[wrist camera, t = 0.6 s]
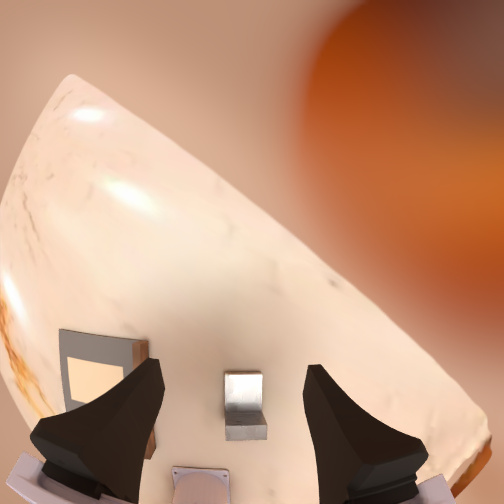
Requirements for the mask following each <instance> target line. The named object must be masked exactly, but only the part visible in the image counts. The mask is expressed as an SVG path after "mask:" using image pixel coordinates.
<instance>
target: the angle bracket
mask: <svg viewBox="0 0 504 504" xmlns="http://www.w3.org/2000/svg"><path fill="white" fill-rule="evenodd" d="M225 429H226V441H242V440H267V423H266V421H265V418H264V415H263V413H262V373H261V372H225Z"/></svg>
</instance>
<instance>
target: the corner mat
mask: <svg viewBox="0 0 504 504" xmlns="http://www.w3.org/2000/svg"><path fill="white" fill-rule="evenodd" d="M138 341H141V340H131V339H122V338H114V337H106V336H99V335H92V334H86V333H80V332H74V331H68V330H62V329H59V350H60V365H61V376H62V385H63V393H64V400H65V407H66V412H68V411H71V410H74V409H76V408H78V407H80V406H82V405H85V404H87V403H89V402H91V401H93V400H94V399H96V398H98V397H99V396H101V395H103V394H104V393H106V392H107V391H108V390H110V389H111V388H112V387H114V386H115V385H116V384H118V383H119V382H120V381H121V380H123V379H124V378H125V377H126V376H127V375H129V374H130V373H131V372H132V371H133V356H132V343H135V342H138ZM155 448H156V447H155Z"/></svg>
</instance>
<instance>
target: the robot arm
mask: <svg viewBox="0 0 504 504" xmlns="http://www.w3.org/2000/svg"><path fill="white" fill-rule="evenodd" d="M164 391H165V386H164V381H163V377H162V373H161V368H160V363H159V359H152V358H147V359H146V360H144V361H143V362H142V363H141V364H140V365H139V366H138V367H136V368H135V369H134V370H133V371H132V372H131V373H130V374H129V375H127V376H126V377H125V378H124V379H123V380H121V381H120V382H119V383H118V384H116V385H115V386H114V387H112V388H111V389H110V390H108V391H107V392H106V393H104V394H103V395H101V396H99V397H98V398H96V399H94V400H93V401H91V402H89V403H87V404H85V405H82V406H80V407H78V408H76V409H74V410H71V411H68V412H65V413H62V414H59V415H55V416H51V417H47V418H42V419H40V421H39V422H38V424H37V425H36V427H35V428H34V430H33V431H32V433H31V434H30V439H31V441H32V443H33V444H34V446H35V447H36V448H37V449H38V450H39V451H40V453H41V454H42V455H43V456H44V457H45V458H46V462H45V464H44V463H43V462H42V461H40V460H39V459H37V458H35V457H34V456H32V455H30V454H29V453H27V452H25V451H23V452H22V454H21V456H20V457H19V459H18V461H17V462H16V464H15V466H14V468H13V469H12V471H11V473H10V475H9V477H8V478H7V480H6V484H7V485H8V486H10V487H11V488H12V489H13V490H14V491H15V492H17V493H18V494H19V495H20V496H22V497H23V498H24V499H26V500H27V501H28V502H30V503H31V504H138V501H139V489H140V481H141V473H142V467H143V462H144V457H145V452H146V448H147V444H148V440H149V437H150V434H151V432H152V429H153V426H154V424H155V421H156V418H157V416H158V413H159V410H160V408H161V405H162V401H163V396H164ZM303 401H304V409H305V414H306V418H307V422H308V426H309V430H310V433H311V437H312V441H313V445H314V450H315V456H316V464H317V473H318V484H319V500H320V504H456V502H455V500H454V497H453V495H452V493H451V491H450V489H449V487H448V484H447V482H446V480H445V478H444V476H443V474H439V475H437V476H435V477H433V478H430V479H428V480H426V481H424V482H421V483H420V484H418V485H416V483H415V481H416V480H417V476H416V471H417V470H418V469H419V468H420V467H421V466H422V465H423V464H424V463H425V461H426V460H427V458H428V452H427V450H426V448H425V446H424V444H423V443H422V441H421V440H420V439H418V438H415V437H412V436H410V435H407V434H404V433H402V432H400V431H397V430H395V429H393V428H391V427H389V426H387V425H386V424H384V423H382V422H381V421H379V420H377V419H376V418H374V417H373V416H371V415H370V414H369V413H367V412H366V411H365V410H363V409H362V408H361V407H360V406H359V405H357V404H356V403H355V402H354V401H353V400H352V399H351V398H350V397H349V396H348V395H347V394H346V393H345V392H344V391H343V390H342V389H341V388H340V387H339V386H338V384H337V383H336V382H335V381H334V380H333V379H332V377H331V376H330V375H329V374H328V373H327V371H326V370H325V369H324V368H323V366H322V365H321V364H318V365H308V369H307V374H306V380H305V385H304V390H303ZM175 472H177V473H175ZM172 475H173V481H174V487H175V493H174V497H173V501H172V504H230V489H229V471H228V470H218V469H196V468H183V467H173V468H172ZM224 475H226V476H224Z"/></svg>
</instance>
